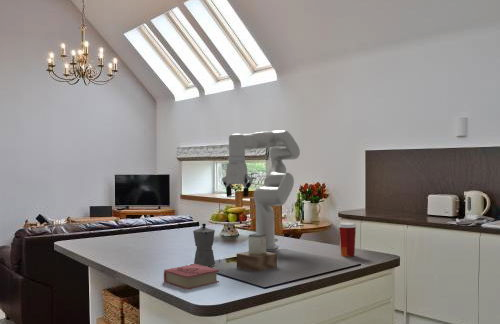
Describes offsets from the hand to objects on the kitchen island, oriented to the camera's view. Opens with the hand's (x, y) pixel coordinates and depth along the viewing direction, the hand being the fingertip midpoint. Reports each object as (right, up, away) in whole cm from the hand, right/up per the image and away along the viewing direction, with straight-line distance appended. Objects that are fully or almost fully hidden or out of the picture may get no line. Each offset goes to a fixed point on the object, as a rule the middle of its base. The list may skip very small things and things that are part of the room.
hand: (237, 196), depth 220 cm
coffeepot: (-14, -29, -18) cm, 37 cm away
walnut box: (+9, -28, -24) cm, 38 cm away
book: (-16, -29, -48) cm, 58 cm away
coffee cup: (+52, -28, -2) cm, 59 cm away
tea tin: (+9, -22, -24) cm, 34 cm away
